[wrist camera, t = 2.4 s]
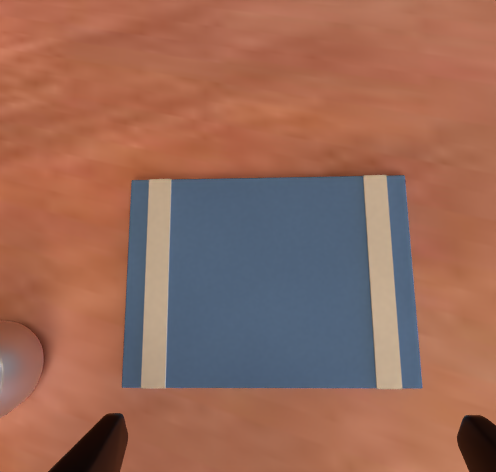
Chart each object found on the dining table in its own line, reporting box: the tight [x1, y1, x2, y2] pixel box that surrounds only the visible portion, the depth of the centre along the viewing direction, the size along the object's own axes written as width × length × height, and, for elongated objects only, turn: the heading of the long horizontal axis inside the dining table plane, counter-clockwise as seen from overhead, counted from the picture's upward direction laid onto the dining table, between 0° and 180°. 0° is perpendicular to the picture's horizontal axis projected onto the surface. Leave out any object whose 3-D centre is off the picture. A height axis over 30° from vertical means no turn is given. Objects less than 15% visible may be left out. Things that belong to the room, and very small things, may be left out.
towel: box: [122, 175, 422, 389], centre depth 24 cm, size 22×16×1 cm
